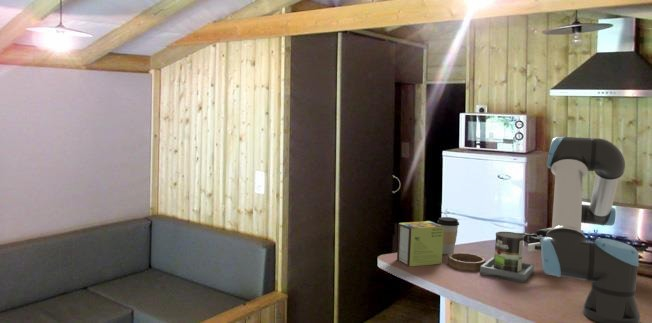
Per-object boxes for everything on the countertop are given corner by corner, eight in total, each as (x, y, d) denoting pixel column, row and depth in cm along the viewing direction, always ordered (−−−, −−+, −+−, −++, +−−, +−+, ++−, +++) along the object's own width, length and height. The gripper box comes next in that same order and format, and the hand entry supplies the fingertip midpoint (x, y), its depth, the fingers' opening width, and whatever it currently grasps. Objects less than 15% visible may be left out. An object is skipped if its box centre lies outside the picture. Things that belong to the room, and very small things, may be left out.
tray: (523, 283, 183) (524, 275, 183) (480, 274, 192) (480, 266, 192) (533, 272, 197) (534, 264, 196) (492, 264, 205) (492, 257, 205)
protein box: (442, 263, 204) (444, 226, 203) (409, 267, 199) (411, 228, 197) (428, 256, 214) (429, 220, 212) (396, 259, 208) (397, 222, 207)
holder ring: (478, 272, 194) (478, 265, 193) (443, 265, 202) (443, 258, 201) (489, 264, 205) (489, 257, 205) (455, 257, 213) (456, 250, 213)
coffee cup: (458, 256, 215) (460, 222, 213) (435, 254, 217) (437, 220, 215) (456, 250, 224) (458, 217, 223) (435, 249, 226) (436, 216, 225)
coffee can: (507, 276, 188) (509, 238, 186) (487, 267, 197) (489, 232, 195) (527, 273, 192) (530, 236, 191) (507, 265, 201) (509, 230, 200)
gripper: (575, 254, 196) (540, 261, 185) (521, 239, 217) (487, 245, 206) (577, 235, 195) (542, 241, 184) (522, 222, 216) (488, 227, 205)
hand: (513, 243), depth 195 cm, fingers open, 13 cm apart
